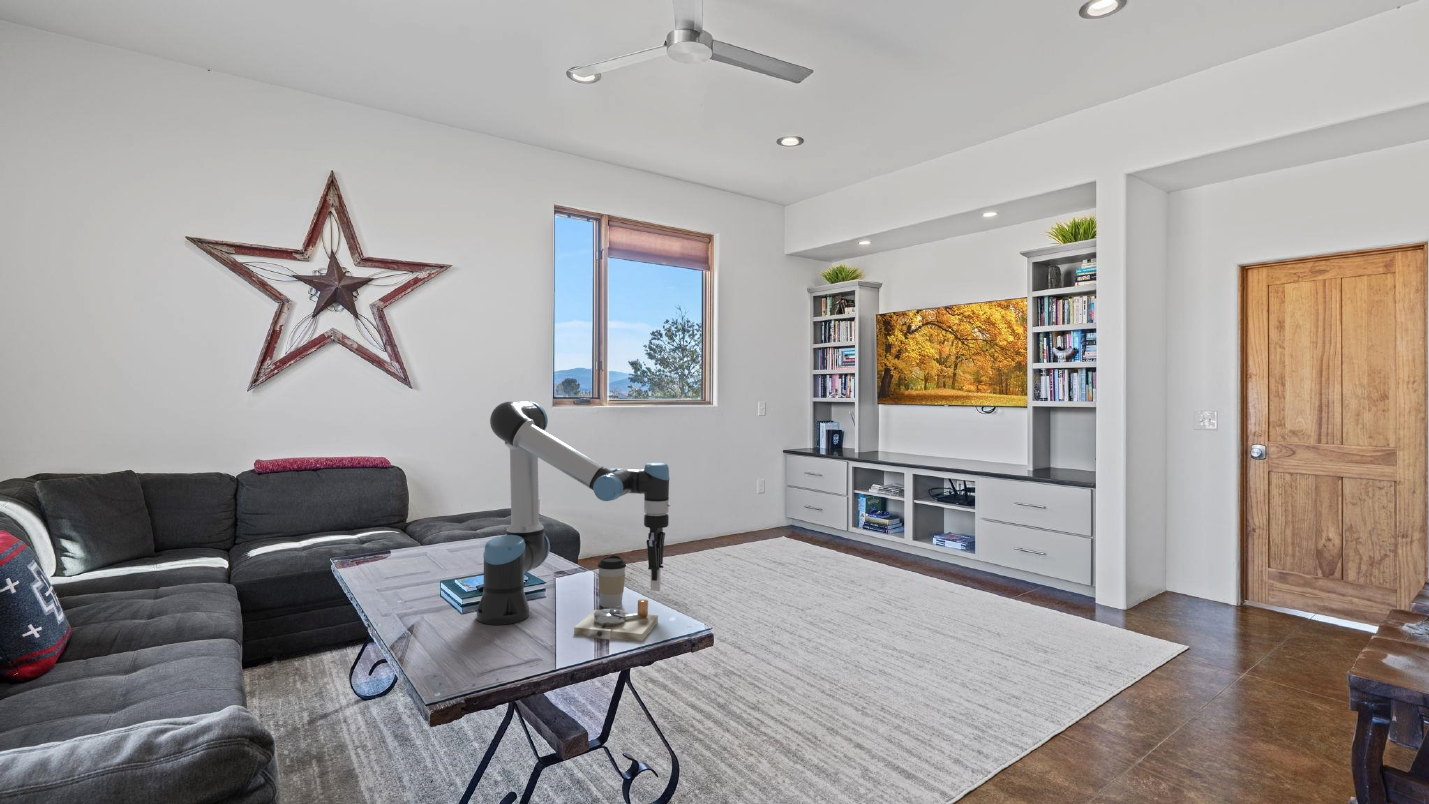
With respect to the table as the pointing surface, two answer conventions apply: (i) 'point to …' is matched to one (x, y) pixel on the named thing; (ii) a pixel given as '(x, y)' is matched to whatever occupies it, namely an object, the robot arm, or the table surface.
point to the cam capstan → (620, 615)
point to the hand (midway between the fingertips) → (655, 589)
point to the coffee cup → (611, 581)
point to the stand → (617, 628)
